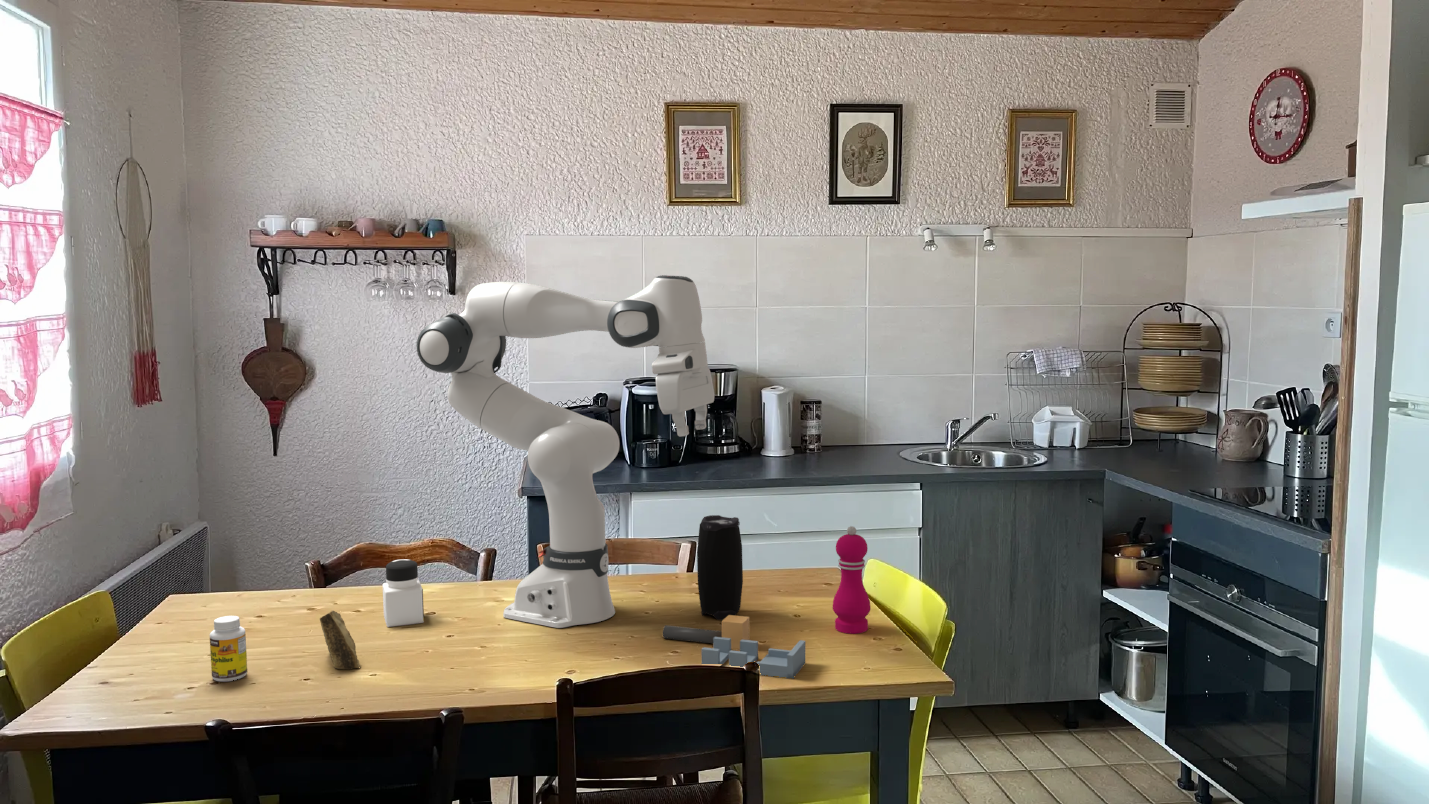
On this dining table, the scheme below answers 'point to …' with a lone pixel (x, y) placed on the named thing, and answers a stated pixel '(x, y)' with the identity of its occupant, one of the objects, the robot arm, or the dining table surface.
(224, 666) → the supplement bottle
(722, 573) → the portable speaker
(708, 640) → the grey and tan hammer
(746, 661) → the clip
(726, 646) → the clip
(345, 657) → the rock
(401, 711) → the dining table surface
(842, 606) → the pepper mill
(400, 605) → the medicine bottle
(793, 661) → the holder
